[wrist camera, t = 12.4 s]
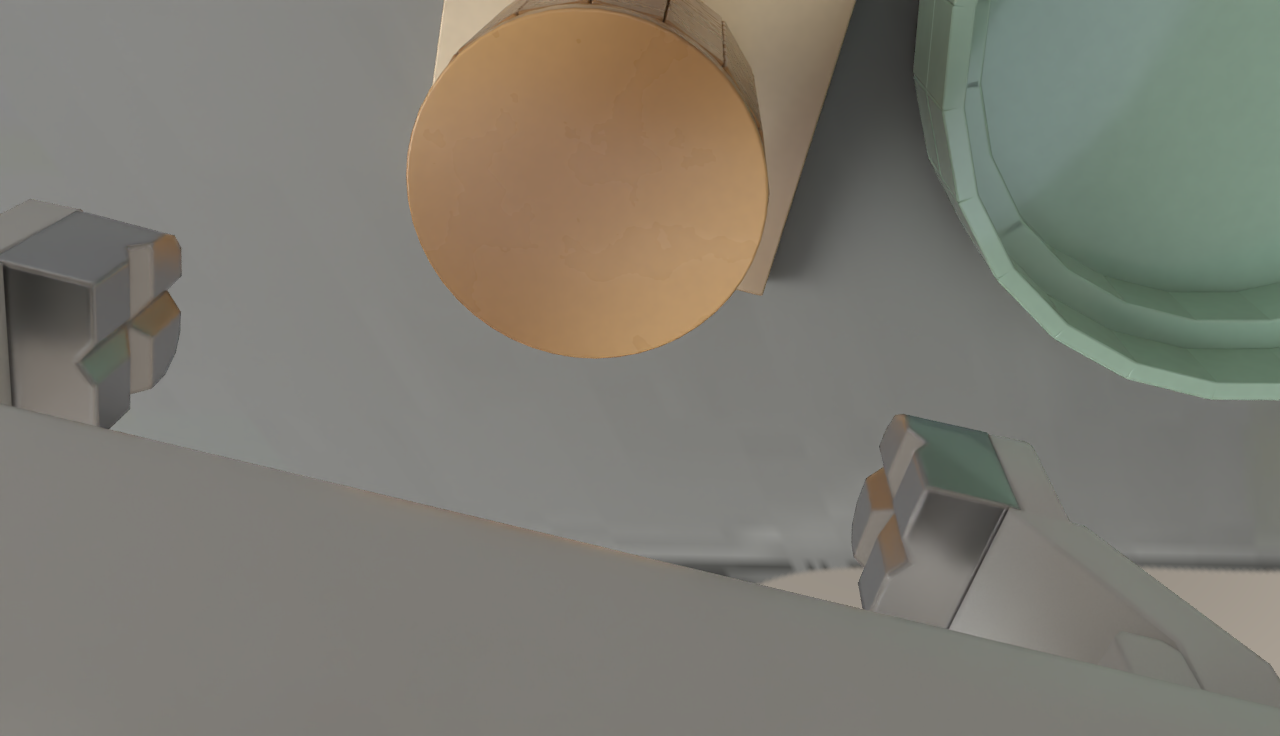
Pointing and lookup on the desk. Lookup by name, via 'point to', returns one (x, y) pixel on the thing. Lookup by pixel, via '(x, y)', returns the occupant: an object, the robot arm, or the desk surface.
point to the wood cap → (592, 173)
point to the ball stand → (784, 78)
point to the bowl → (1120, 175)
